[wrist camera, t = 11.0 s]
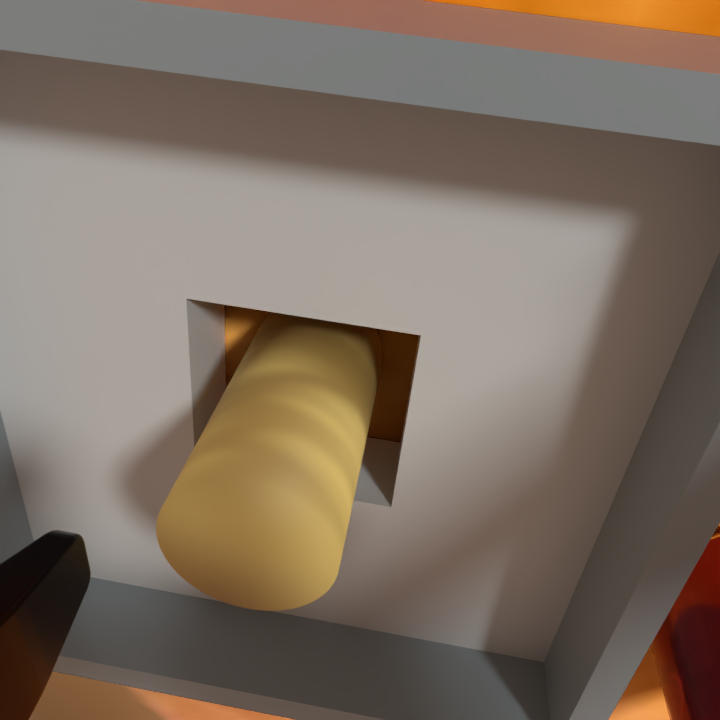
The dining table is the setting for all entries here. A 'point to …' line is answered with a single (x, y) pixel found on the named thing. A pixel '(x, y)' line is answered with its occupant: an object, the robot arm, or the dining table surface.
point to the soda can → (693, 643)
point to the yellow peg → (276, 467)
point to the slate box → (375, 310)
